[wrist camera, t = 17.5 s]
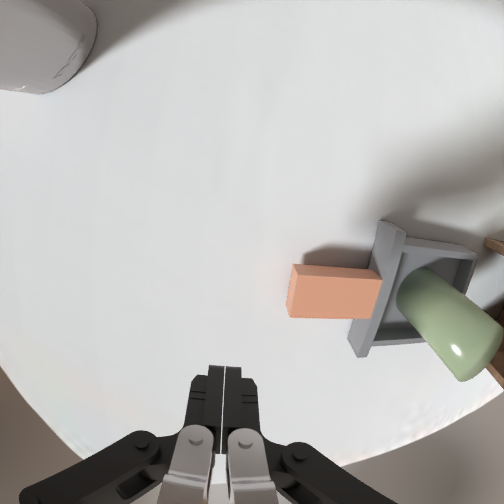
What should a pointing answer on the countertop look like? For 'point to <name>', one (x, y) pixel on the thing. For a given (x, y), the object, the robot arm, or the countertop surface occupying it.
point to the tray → (394, 272)
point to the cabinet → (500, 365)
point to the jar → (449, 323)
